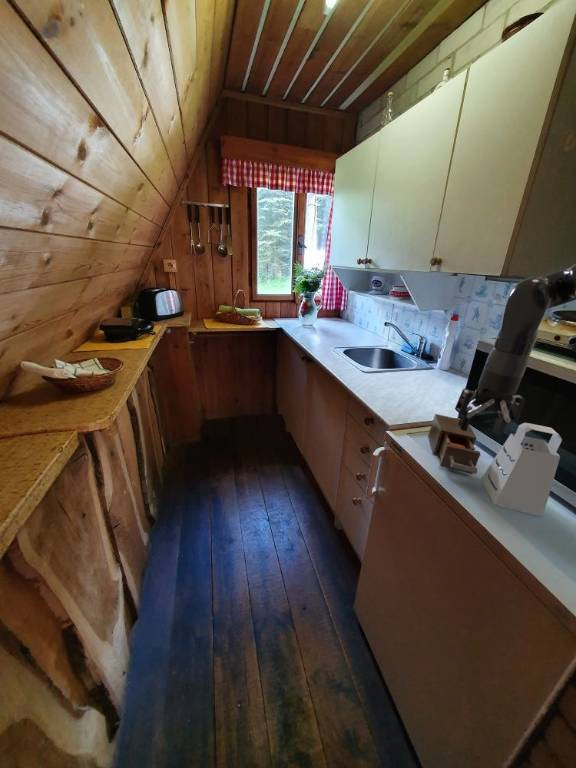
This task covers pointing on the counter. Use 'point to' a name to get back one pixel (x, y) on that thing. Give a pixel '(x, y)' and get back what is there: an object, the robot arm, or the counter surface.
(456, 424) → the cabinet
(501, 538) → the counter surface
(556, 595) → the counter surface
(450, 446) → the drawer
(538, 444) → the grater
